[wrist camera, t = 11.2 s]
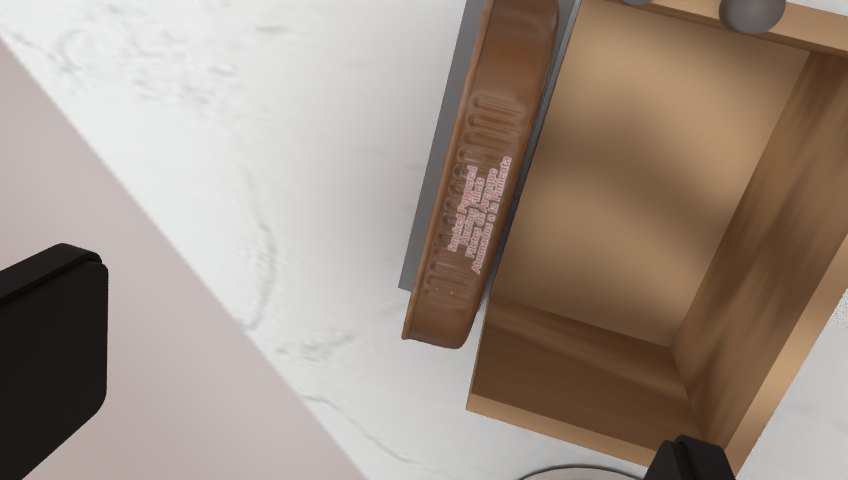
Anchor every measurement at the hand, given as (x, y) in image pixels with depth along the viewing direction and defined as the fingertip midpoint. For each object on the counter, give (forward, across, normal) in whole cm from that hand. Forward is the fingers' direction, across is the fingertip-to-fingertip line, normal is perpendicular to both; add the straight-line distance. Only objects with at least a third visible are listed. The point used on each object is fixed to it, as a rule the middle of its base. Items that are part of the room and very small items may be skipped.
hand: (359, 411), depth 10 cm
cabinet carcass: (+20, -7, 0) cm, 21 cm away
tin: (+20, 0, 0) cm, 20 cm away
